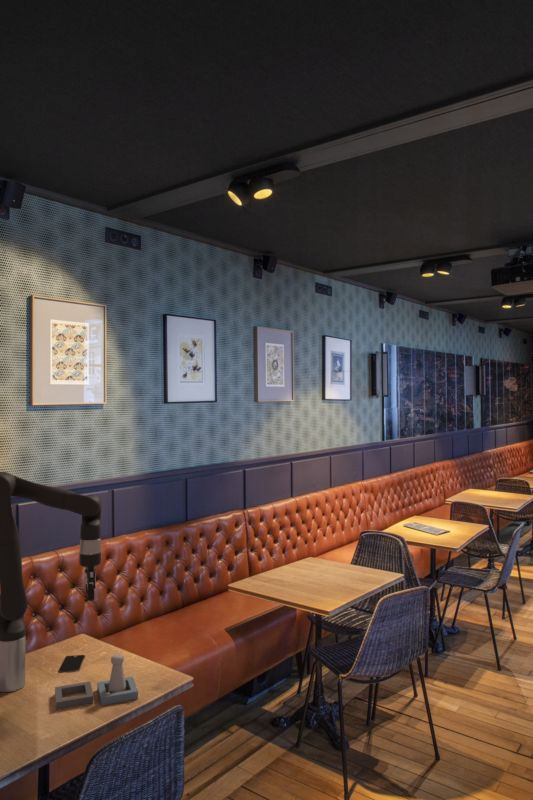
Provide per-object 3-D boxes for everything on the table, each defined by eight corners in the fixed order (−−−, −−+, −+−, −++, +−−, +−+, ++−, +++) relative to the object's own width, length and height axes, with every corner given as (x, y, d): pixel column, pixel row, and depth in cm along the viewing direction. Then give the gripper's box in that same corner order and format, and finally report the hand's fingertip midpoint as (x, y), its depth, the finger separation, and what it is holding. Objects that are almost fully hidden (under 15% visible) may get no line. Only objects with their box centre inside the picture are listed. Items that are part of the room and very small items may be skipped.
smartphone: (85, 654, 231) (79, 670, 216) (85, 656, 231) (79, 672, 216) (65, 655, 230) (57, 671, 215) (65, 657, 230) (57, 673, 215)
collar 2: (100, 705, 190) (100, 697, 190) (97, 689, 201) (97, 682, 201) (138, 698, 194) (138, 691, 194) (132, 683, 206) (132, 676, 206)
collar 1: (55, 710, 187) (55, 702, 187) (54, 694, 198) (55, 687, 198) (93, 703, 191) (93, 696, 191) (90, 688, 202) (90, 681, 202)
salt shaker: (104, 695, 197) (104, 657, 197) (116, 688, 202) (116, 651, 202) (118, 699, 194) (118, 660, 194) (129, 692, 199) (129, 654, 199)
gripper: (78, 548, 215) (77, 592, 214) (80, 556, 201) (80, 603, 201) (99, 546, 217) (98, 590, 217) (103, 554, 204) (102, 601, 203)
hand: (89, 596), depth 209 cm, fingers open, 8 cm apart
